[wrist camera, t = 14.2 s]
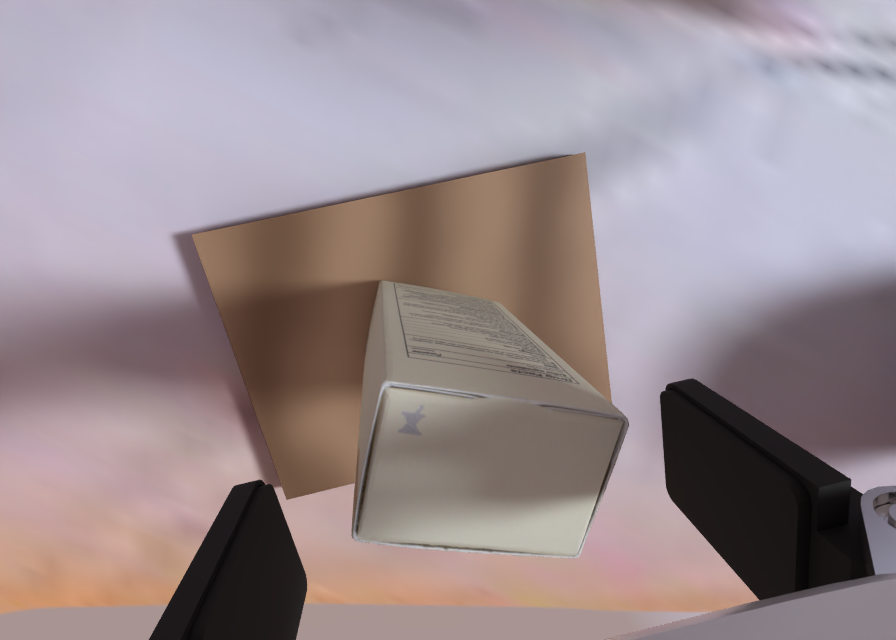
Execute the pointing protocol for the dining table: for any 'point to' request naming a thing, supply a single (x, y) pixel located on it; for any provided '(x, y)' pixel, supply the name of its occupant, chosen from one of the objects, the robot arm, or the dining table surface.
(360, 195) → the dining table surface
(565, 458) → the skincare box
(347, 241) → the walnut board
